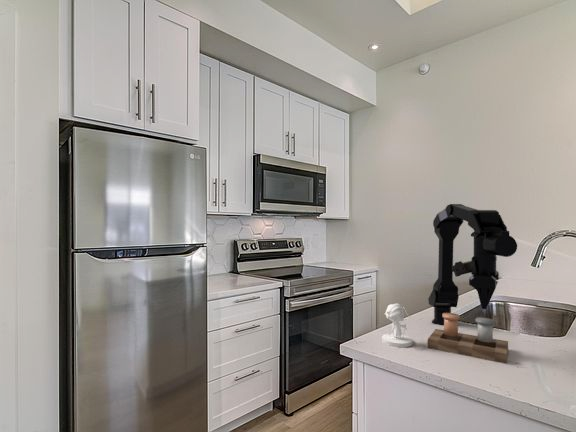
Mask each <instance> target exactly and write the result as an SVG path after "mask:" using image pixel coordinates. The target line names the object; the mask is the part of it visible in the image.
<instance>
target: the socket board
mask: <svg viewBox="0 0 576 432" xmlns="http://www.w3.org/2000/svg"><path fill="white" fill-rule="evenodd" d="M427 349H431V350H437V351H440V352H441V351H442V352H445V353H446V352H447V353H452V354H456V355H461V356H466V357H471V358H474V359H475V358H476V359H479V360H480V359H482V360H487V361H491V362H495V363H501V364H505V365H507V364H508V357H509V356H508V355H509V340H504V339H497V338H493V342H482V341H479V340H478V335H473V334H468V333H462V332H458V336H448V335H446V334H444V329H439V328H435V329H434V330H433V332H432V333H431V334H430V335H429V337H428V338H427Z"/></svg>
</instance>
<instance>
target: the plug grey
mask: <svg viewBox="0 0 576 432" xmlns="http://www.w3.org/2000/svg"><path fill="white" fill-rule="evenodd" d="M495 322H496V320H494V319H492V318H487V317H476V318H475V323H476V324H477V336H478V340H479V341H482V342H493V339H494V337H493V336H494V335H493V334H494V333H493V332H494V329H493V328H494V327H493V326H495Z"/></svg>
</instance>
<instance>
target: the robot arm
mask: <svg viewBox="0 0 576 432" xmlns="http://www.w3.org/2000/svg"><path fill="white" fill-rule="evenodd" d="M464 221H465V222H466V223H467V225H468V226H469V227H470V228H471V229H472V230H473V232H472V233H470V237H473V256H472V257H471V260H468V261H465V262H463V261H461V260H460V261H456V262H454V241H455V239H456V238H457V236H458V235H459V232H460V227H461V226H462V225H463V223H464ZM432 222H433V223H432V225H433V228H434V233H435V236H437V238H438V267H437V269H438V273H437V274H438V275H437V279H436V280H435V282H434V283H433V286H432V291H431V293H430V295H429V297H428V298H427V300H428V305H429V306H431V307H433V314H434V315H433V319H432V320H431V324H439V325H443V326H444V318H443V317H442V314H443V313H452V308H457V306H458V303H459V299H460V298H459V287H458V285H456V284H455V282H454V281H453V278H454V277H453V274H454V276H455V277H456V278H457V277H460V276H462V275H466V274H470V273H471V276H470V277H469V278H468V281H469V282H468V285H469V286H471V287H472V288H473V289H475V290H476V291H477V294H478V295H477V296H478V300H479V303H480V308H481V310H487V308H488V307H489V303H490V301H491V300H492V297H493V295H494V293H495V290H496V288H497V286H498V283H499V281H498V280H499V277H500V275H499V271H498V270H497V260H498V259H497V256H499V257H505V258H507V257H508V258H509V257H511V256H513V255H514V254H515V253H516V252H517V251H518V250H517V249H518V243H517V241H516V240H515V238H514V237H513V236H511V235H510V231H509V230H508V227H507V225H506V224H505V223H504V222H505V221H504V220H503V218H502V215H500V213H499V211H498V210H496V209H476V208H473V207H470V206H466V205H464V204H462V203H450V204H447V205H446V206H445V208H444V209H442V210H441V211H439V212H438V213H437V214H436V215H435V217H434V219H433V221H432Z"/></svg>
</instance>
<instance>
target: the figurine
mask: <svg viewBox="0 0 576 432" xmlns="http://www.w3.org/2000/svg"><path fill="white" fill-rule="evenodd" d="M405 314H406V316H408V317H410V315H409V314H408V312H407V310H406V308H405V307H404V306H403V307H402V305H401V304H400V303H394V304H393V303H391V304H388V306H387V307H386V310H385V313H384V315H385V316H386V319H388V320H390V321H391V322H392V323H391V330H390V331H389V332H388V333H385V334H383V335H382V336H381V341H382V343H383V344H384V345H388V346H390V347H395V348H396V347H397V348H407V347H409V348H410V347H411V346H413V344H414V343H413V338H412V337H410V336H408V335H405V331H406V330H408V328H407V323H406V322H405V324H401V323H400V322H404V320H405V318H404V317H405ZM402 329H404V330H403V332H402ZM392 332H393V333H392Z"/></svg>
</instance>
